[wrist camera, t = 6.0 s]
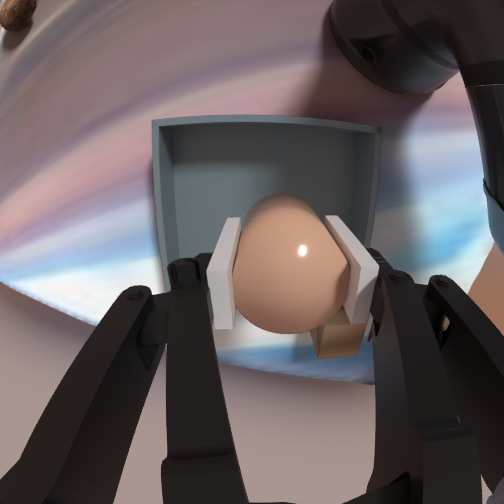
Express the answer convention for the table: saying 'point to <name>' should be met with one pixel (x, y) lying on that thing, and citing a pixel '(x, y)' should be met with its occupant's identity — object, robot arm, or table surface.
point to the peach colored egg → (288, 267)
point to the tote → (257, 174)
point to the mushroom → (16, 14)
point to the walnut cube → (338, 337)
